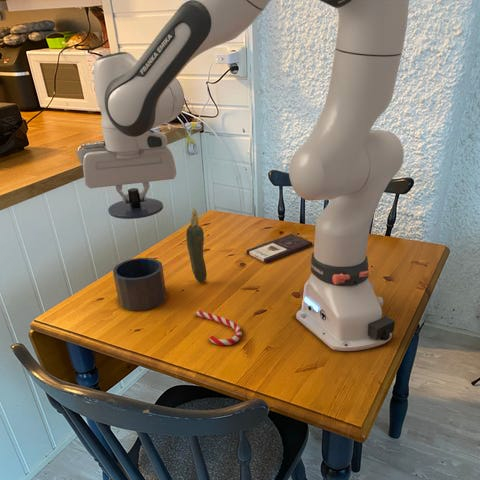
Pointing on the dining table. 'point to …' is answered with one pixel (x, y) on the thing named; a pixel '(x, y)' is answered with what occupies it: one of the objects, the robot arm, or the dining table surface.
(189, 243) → the vegetable
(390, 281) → the dining table surface
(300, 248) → the chocolate bar
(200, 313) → the candy cane
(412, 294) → the dining table surface
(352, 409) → the dining table surface
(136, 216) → the lid
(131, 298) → the dark grey pot
